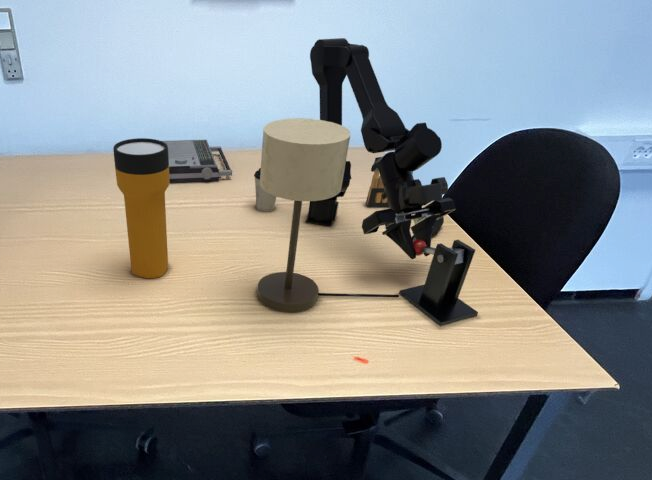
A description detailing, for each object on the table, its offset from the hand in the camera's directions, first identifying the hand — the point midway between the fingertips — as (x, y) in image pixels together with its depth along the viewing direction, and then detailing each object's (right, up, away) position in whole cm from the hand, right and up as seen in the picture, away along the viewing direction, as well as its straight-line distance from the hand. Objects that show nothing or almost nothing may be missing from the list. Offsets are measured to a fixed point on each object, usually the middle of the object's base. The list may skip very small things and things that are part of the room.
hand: (420, 257), depth 103 cm
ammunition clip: (+5, +21, +37) cm, 43 cm away
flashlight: (-55, -1, +9) cm, 55 cm away
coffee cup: (-28, +20, +34) cm, 48 cm away
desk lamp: (-19, -8, +1) cm, 20 cm away
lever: (+1, -1, -3) cm, 3 cm away
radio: (-47, +38, +57) cm, 83 cm away
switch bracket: (+3, -10, -1) cm, 10 cm away
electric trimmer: (+10, +10, +23) cm, 27 cm away
